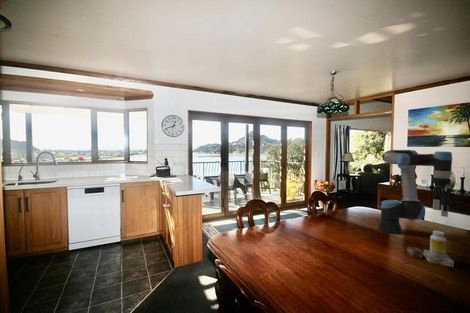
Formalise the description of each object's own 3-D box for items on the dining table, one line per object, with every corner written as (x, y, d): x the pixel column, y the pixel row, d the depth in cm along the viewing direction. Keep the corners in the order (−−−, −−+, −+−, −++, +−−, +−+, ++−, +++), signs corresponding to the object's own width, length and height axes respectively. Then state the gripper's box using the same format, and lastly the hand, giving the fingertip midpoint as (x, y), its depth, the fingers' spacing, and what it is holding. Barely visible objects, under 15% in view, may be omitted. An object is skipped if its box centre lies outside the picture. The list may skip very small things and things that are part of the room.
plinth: (429, 262, 118) (429, 256, 118) (423, 254, 127) (423, 249, 127) (453, 267, 113) (453, 260, 113) (445, 258, 122) (446, 253, 122)
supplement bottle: (447, 258, 116) (448, 235, 115) (431, 255, 119) (432, 232, 119) (443, 253, 121) (444, 231, 121) (428, 250, 125) (429, 229, 124)
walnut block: (412, 257, 123) (413, 250, 123) (407, 253, 128) (407, 247, 128) (422, 258, 123) (422, 251, 123) (416, 254, 128) (416, 247, 127)
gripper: (460, 181, 112) (457, 220, 113) (442, 175, 134) (440, 208, 135) (441, 180, 116) (438, 218, 117) (426, 174, 137) (425, 206, 139)
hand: (439, 213), depth 126 cm, fingers open, 13 cm apart
